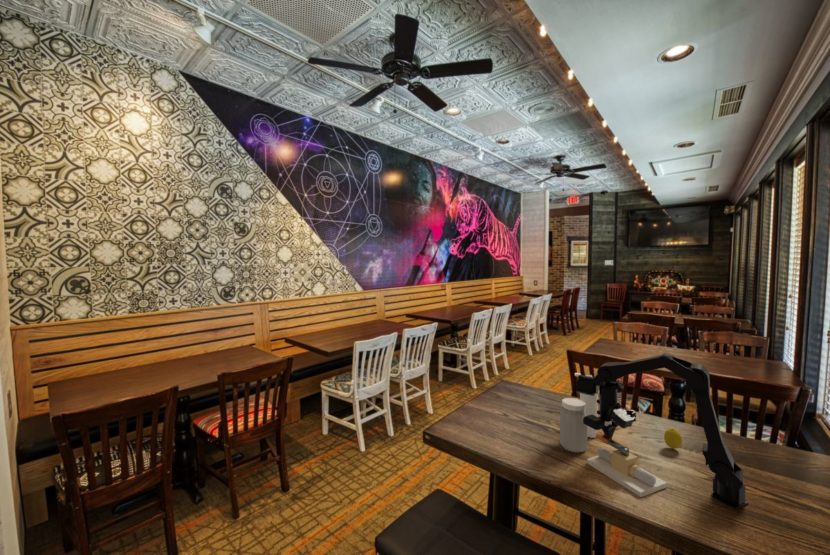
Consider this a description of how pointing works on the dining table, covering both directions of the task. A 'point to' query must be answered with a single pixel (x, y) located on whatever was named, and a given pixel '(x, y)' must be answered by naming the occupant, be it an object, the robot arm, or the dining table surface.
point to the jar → (573, 425)
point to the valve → (626, 472)
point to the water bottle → (590, 408)
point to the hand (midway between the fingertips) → (609, 441)
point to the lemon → (673, 438)
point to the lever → (613, 443)
